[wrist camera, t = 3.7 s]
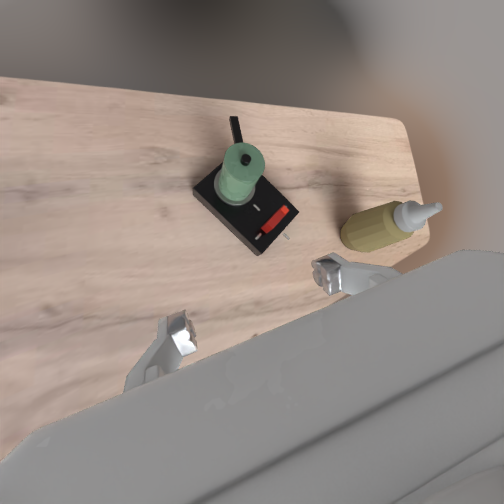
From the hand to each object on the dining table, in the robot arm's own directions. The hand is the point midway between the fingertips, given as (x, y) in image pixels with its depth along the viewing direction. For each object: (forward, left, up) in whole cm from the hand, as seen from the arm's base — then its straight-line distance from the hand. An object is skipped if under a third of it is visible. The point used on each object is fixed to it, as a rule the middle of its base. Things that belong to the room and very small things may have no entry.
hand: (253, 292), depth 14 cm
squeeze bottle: (+14, +27, -27) cm, 41 cm away
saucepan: (-12, +16, -23) cm, 31 cm away
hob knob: (-1, +15, -24) cm, 29 cm away
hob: (-6, +15, -27) cm, 32 cm away
